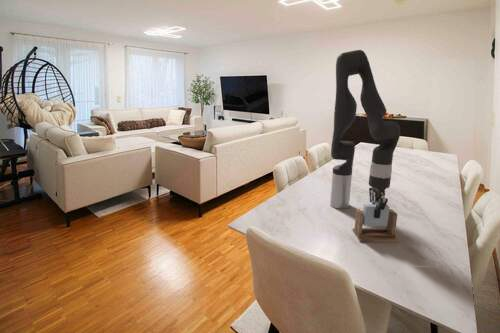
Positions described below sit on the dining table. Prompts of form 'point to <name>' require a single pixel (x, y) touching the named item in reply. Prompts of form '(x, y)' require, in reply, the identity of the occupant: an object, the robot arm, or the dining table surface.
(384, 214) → the door panel
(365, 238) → the frame
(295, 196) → the dining table surface
